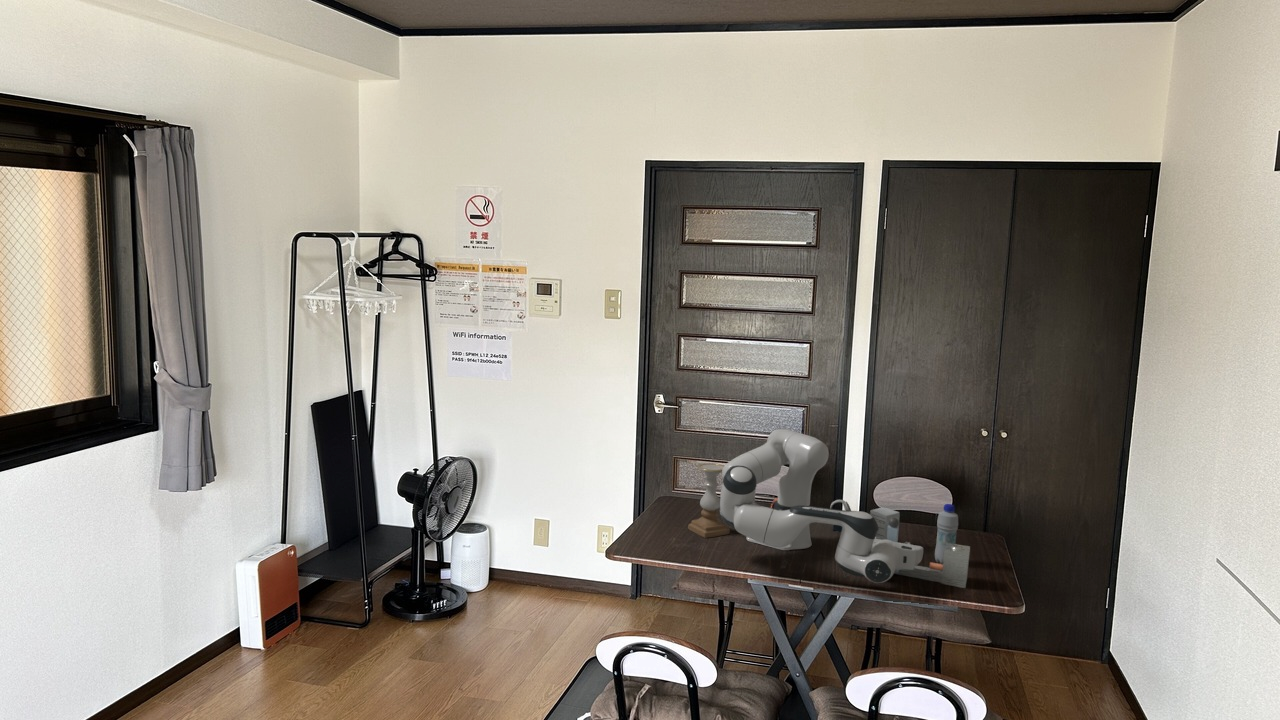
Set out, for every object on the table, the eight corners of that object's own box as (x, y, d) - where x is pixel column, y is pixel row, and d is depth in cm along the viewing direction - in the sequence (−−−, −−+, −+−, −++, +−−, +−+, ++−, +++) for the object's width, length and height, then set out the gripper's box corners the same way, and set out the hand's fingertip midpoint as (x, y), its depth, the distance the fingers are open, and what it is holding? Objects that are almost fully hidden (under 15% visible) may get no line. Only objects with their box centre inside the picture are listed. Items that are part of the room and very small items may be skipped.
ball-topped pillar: (878, 570, 271) (882, 518, 269) (881, 564, 277) (885, 513, 275) (904, 574, 268) (909, 522, 266) (907, 568, 273) (911, 517, 271)
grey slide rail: (865, 570, 273) (868, 535, 272) (870, 562, 280) (872, 528, 279) (965, 588, 261) (968, 553, 259) (966, 580, 268) (970, 545, 266)
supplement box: (880, 541, 302) (883, 506, 301) (897, 547, 296) (900, 512, 295) (867, 544, 298) (869, 509, 296) (884, 551, 292) (887, 515, 290)
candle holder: (704, 538, 297) (708, 471, 294) (687, 528, 306) (690, 464, 303) (730, 534, 303) (733, 468, 300) (712, 525, 312) (715, 461, 309)
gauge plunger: (929, 569, 267) (929, 563, 266) (929, 567, 268) (930, 561, 268) (952, 573, 264) (953, 567, 263) (953, 571, 266) (953, 565, 265)
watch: (850, 533, 309) (852, 503, 308) (828, 530, 311) (830, 501, 310) (850, 528, 315) (852, 499, 313) (828, 525, 317) (830, 497, 315)
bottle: (937, 557, 288) (942, 500, 285) (957, 562, 283) (963, 504, 281) (930, 562, 282) (935, 504, 280) (950, 567, 278) (956, 508, 276)
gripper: (850, 558, 265) (858, 545, 277) (919, 571, 256) (924, 557, 269) (852, 539, 264) (860, 526, 276) (920, 551, 255) (925, 537, 268)
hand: (892, 541), depth 272 cm, fingers open, 8 cm apart
